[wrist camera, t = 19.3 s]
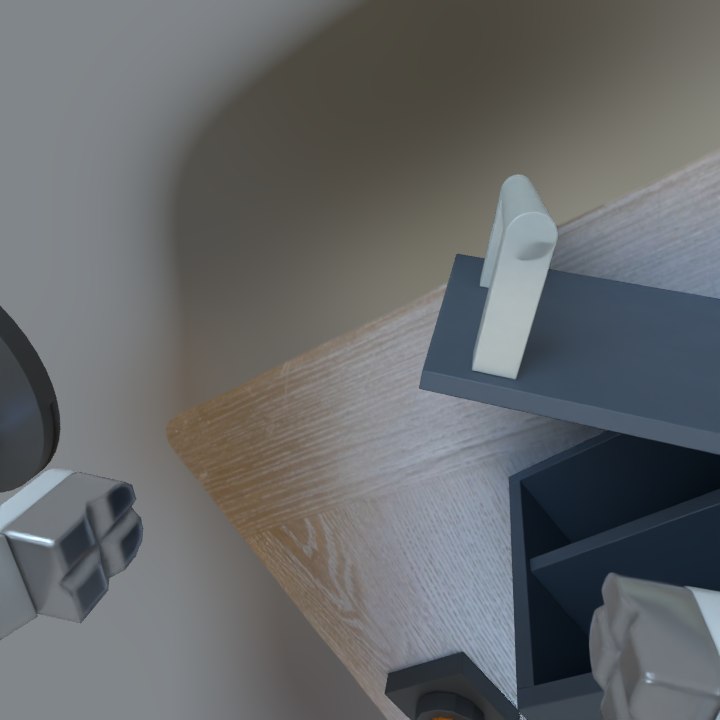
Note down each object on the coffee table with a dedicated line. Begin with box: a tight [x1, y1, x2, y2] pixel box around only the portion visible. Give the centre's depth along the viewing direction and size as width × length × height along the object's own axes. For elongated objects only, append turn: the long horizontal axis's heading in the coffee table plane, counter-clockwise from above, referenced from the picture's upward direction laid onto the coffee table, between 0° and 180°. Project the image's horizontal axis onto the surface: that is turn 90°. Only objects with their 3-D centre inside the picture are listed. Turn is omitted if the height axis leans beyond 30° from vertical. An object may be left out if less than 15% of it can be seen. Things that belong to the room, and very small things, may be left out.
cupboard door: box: [419, 175, 720, 455], centre depth 22 cm, size 7×22×18 cm, turn 83°
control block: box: [385, 652, 520, 720], centre depth 51 cm, size 10×10×4 cm
